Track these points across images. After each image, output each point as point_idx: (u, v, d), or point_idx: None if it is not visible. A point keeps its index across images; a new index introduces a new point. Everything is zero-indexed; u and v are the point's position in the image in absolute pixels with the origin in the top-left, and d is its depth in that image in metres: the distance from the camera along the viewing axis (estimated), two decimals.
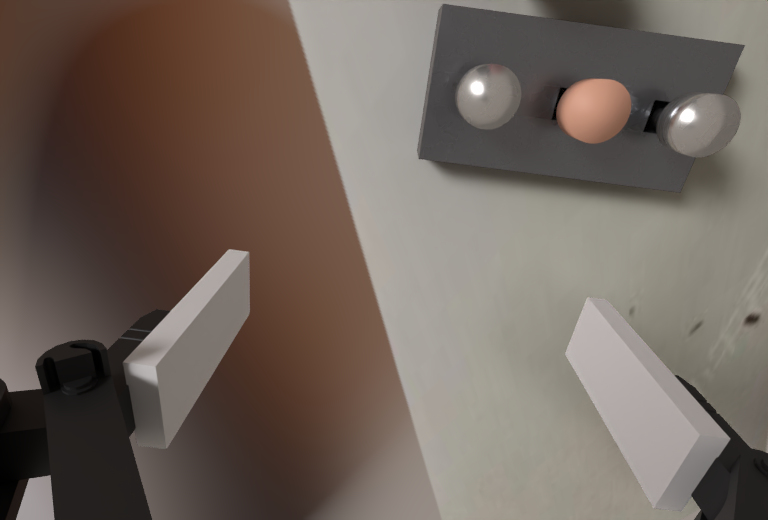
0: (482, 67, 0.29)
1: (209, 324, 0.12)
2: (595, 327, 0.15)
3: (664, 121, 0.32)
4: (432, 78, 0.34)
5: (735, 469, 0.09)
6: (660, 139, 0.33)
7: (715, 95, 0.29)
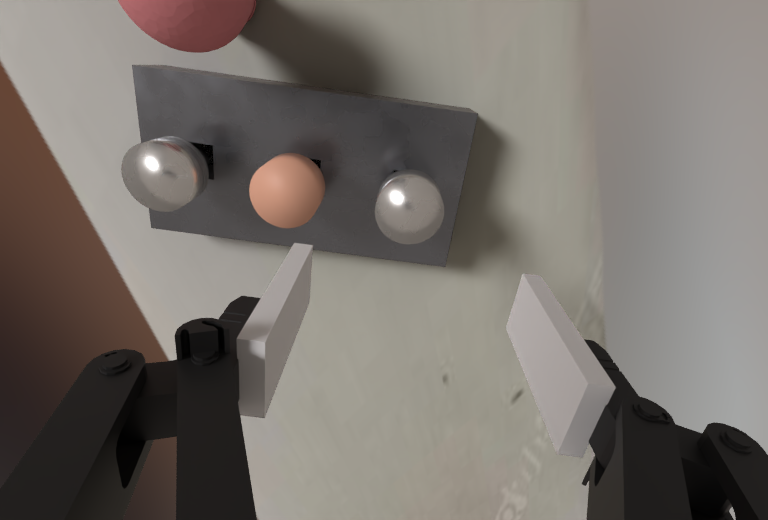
0: (137, 145, 0.25)
1: (290, 309, 0.14)
2: (526, 300, 0.16)
3: None
4: None
5: (619, 418, 0.10)
6: None
7: (408, 179, 0.25)
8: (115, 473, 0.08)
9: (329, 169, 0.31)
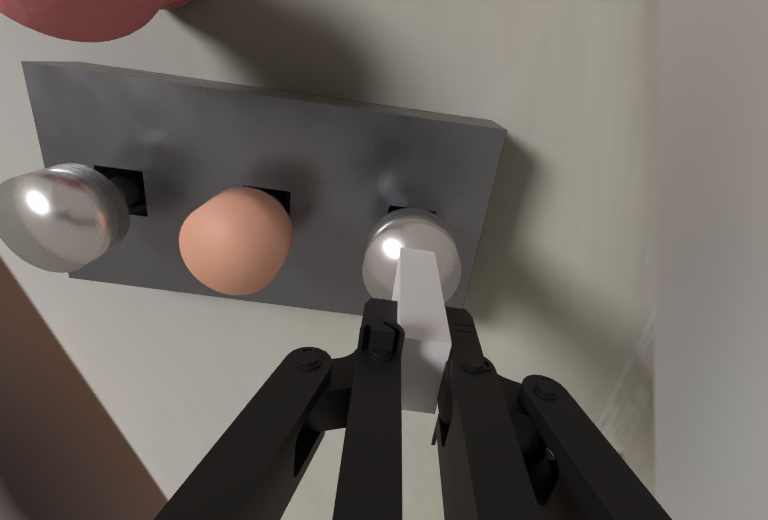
0: (9, 181, 0.17)
1: None
2: None
3: None
4: None
5: (452, 378, 0.11)
6: None
7: (410, 228, 0.18)
8: (292, 461, 0.09)
9: (302, 204, 0.23)
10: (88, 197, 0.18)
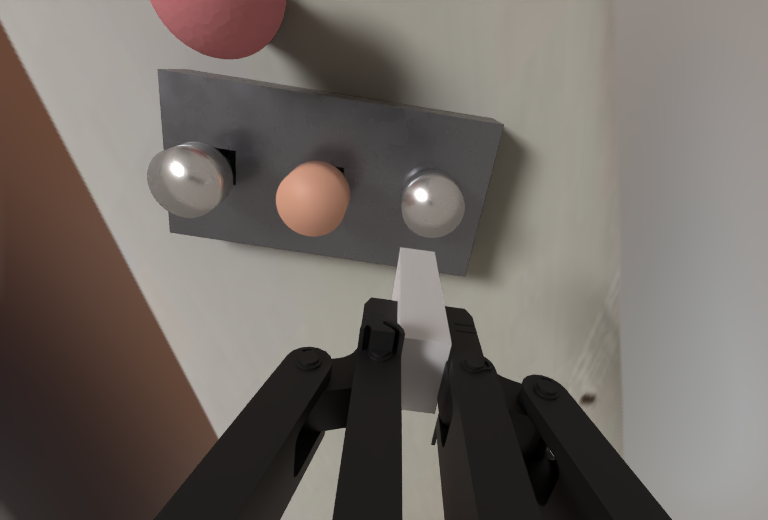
0: (165, 151, 0.25)
1: None
2: None
3: None
4: (164, 148, 0.30)
5: (452, 378, 0.11)
6: None
7: (433, 178, 0.28)
8: (291, 461, 0.09)
9: (352, 177, 0.31)
10: (214, 164, 0.26)
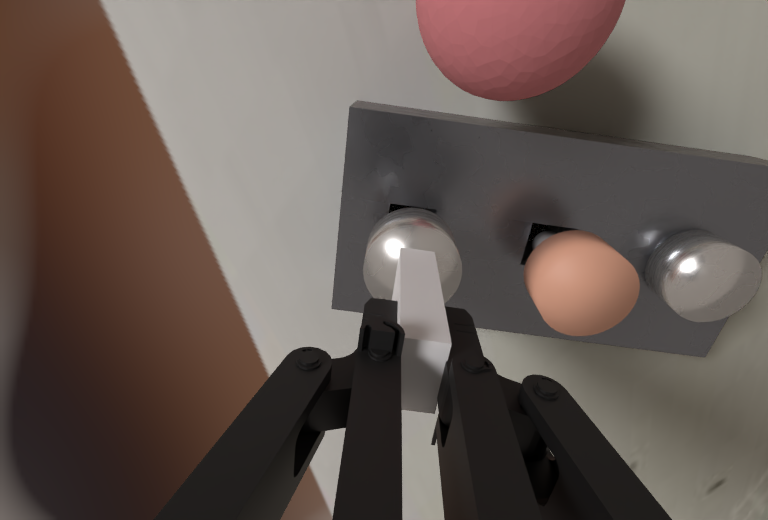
0: (396, 230, 0.18)
1: None
2: None
3: (655, 268, 0.23)
4: (342, 207, 0.23)
5: (452, 378, 0.11)
6: (650, 286, 0.24)
7: (727, 249, 0.21)
8: (291, 461, 0.09)
9: None
10: (454, 243, 0.18)
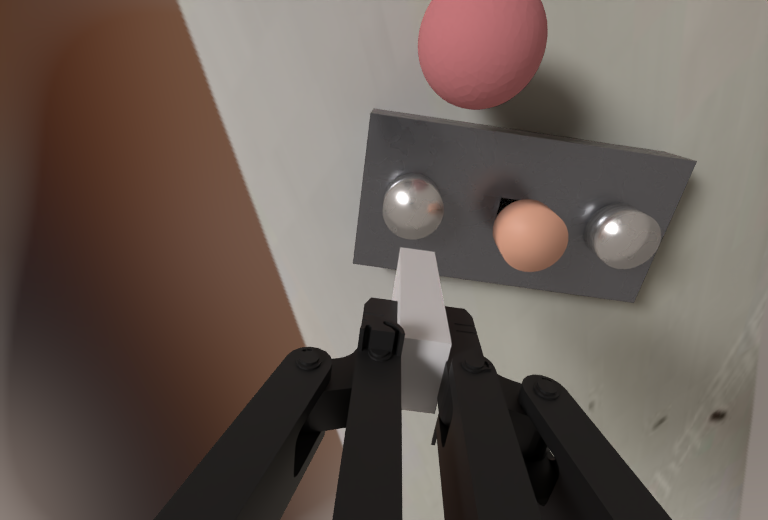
0: (403, 183, 0.29)
1: None
2: None
3: (590, 231, 0.32)
4: (363, 185, 0.32)
5: (452, 378, 0.11)
6: (588, 245, 0.33)
7: (635, 214, 0.29)
8: (292, 461, 0.09)
9: None
10: (439, 193, 0.30)
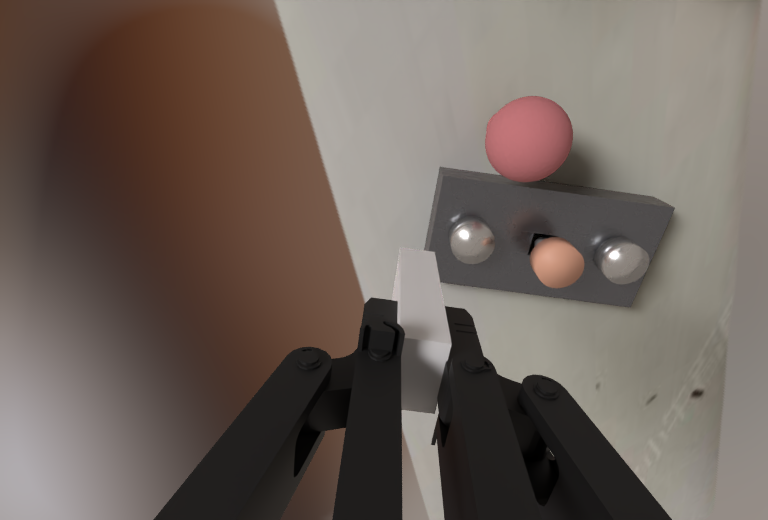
0: (467, 226, 0.41)
1: None
2: None
3: (598, 256, 0.44)
4: (434, 224, 0.44)
5: (452, 378, 0.11)
6: (597, 266, 0.45)
7: (630, 246, 0.42)
8: (291, 461, 0.09)
9: None
10: None
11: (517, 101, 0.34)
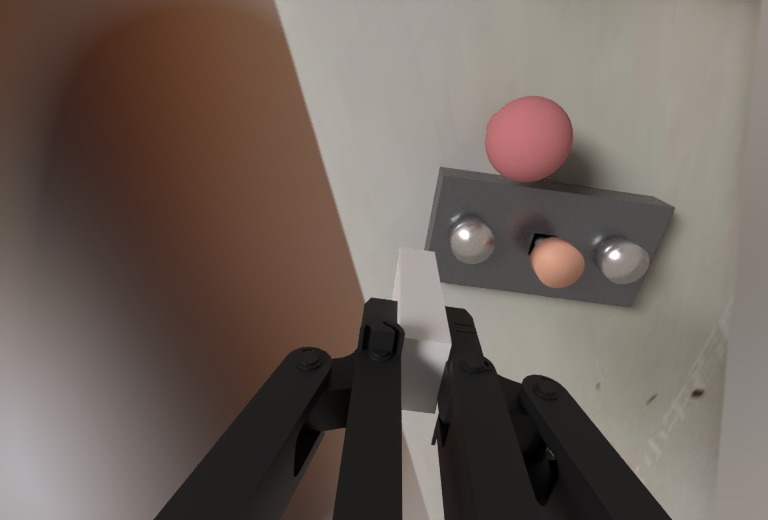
0: (467, 226, 0.41)
1: None
2: None
3: (598, 256, 0.44)
4: (434, 224, 0.44)
5: (452, 378, 0.11)
6: (597, 266, 0.45)
7: (630, 246, 0.42)
8: (291, 461, 0.09)
9: None
10: (491, 232, 0.42)
11: (517, 101, 0.34)
